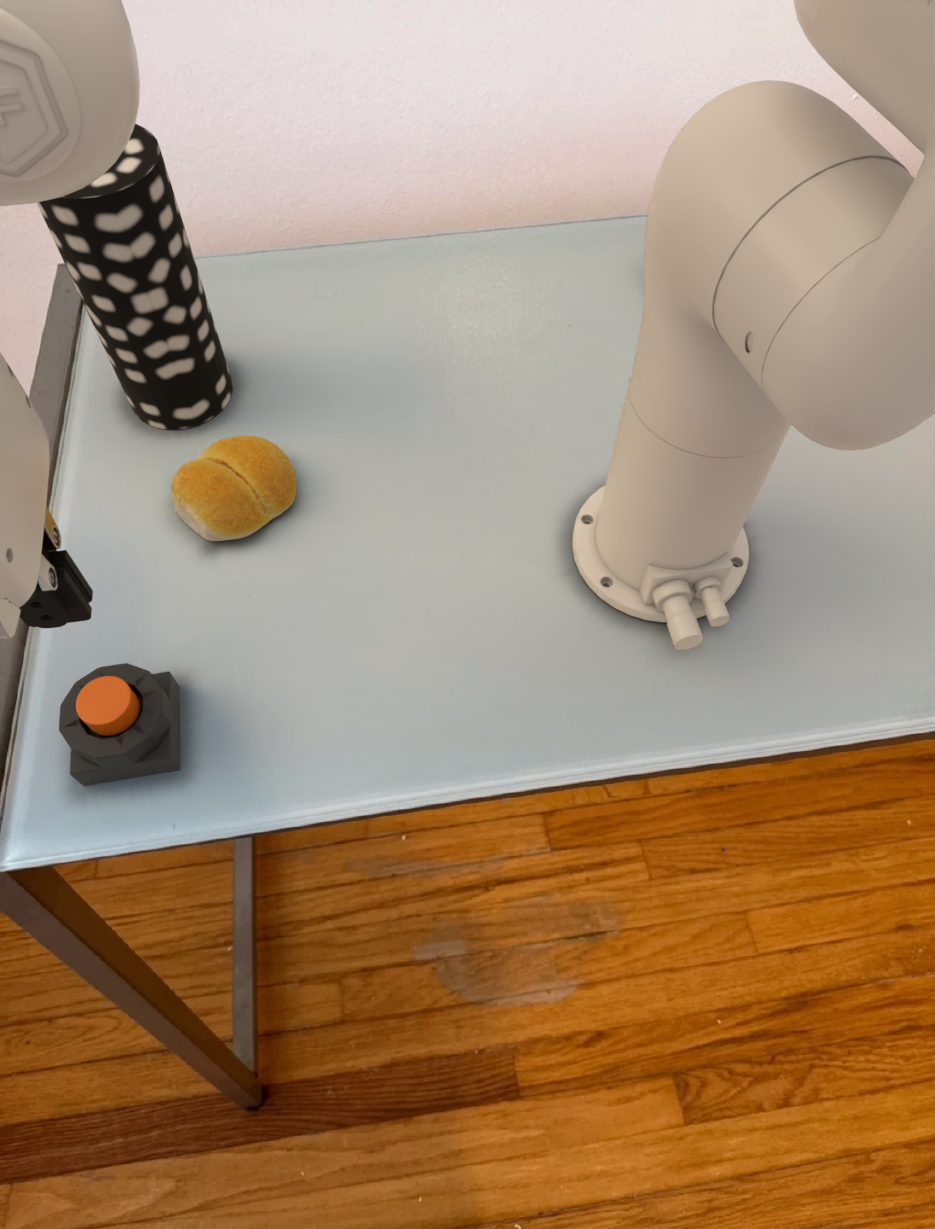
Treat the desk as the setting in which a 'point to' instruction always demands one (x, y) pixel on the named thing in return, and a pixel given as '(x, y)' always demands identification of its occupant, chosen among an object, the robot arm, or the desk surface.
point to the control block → (135, 749)
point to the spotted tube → (143, 287)
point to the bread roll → (234, 488)
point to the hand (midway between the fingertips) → (61, 610)
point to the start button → (107, 705)
